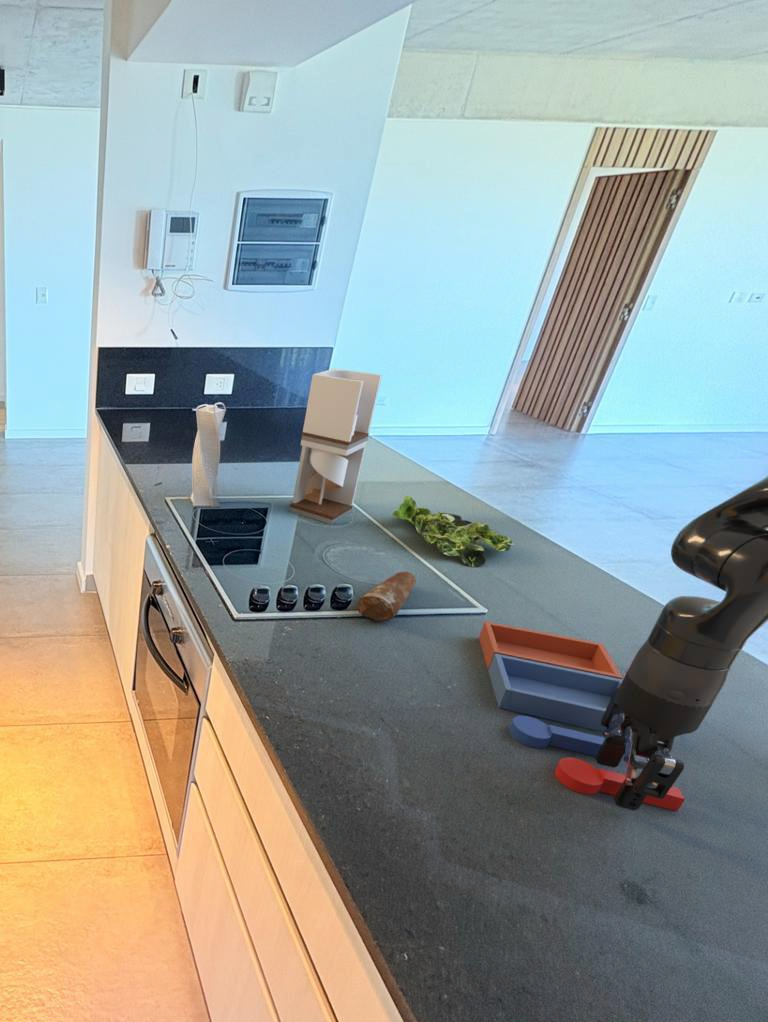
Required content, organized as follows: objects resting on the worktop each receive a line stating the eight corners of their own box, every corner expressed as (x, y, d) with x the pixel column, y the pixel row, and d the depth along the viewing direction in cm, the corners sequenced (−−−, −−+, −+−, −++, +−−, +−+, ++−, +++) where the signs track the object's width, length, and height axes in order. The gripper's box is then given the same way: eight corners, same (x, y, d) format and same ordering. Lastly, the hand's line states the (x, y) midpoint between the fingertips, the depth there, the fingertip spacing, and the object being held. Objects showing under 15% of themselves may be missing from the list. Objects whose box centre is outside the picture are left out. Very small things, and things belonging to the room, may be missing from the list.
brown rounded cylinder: (352, 617, 116) (358, 592, 113) (391, 581, 127) (398, 557, 125) (387, 631, 111) (394, 605, 109) (424, 592, 123) (432, 568, 120)
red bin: (594, 661, 103) (602, 643, 101) (613, 696, 95) (623, 678, 94) (478, 637, 109) (484, 621, 108) (487, 669, 101) (494, 651, 100)
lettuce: (461, 570, 130) (475, 540, 127) (368, 519, 150) (379, 492, 147) (517, 564, 136) (532, 536, 133) (421, 517, 157) (432, 491, 154)
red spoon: (667, 792, 79) (674, 780, 78) (682, 820, 75) (690, 807, 74) (550, 762, 84) (556, 750, 83) (559, 787, 80) (565, 775, 79)
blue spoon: (610, 746, 86) (616, 734, 85) (621, 769, 82) (628, 757, 81) (506, 721, 91) (510, 709, 90) (512, 742, 87) (517, 730, 86)
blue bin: (614, 698, 95) (623, 679, 93) (637, 740, 87) (647, 720, 85) (487, 670, 101) (494, 653, 99) (498, 707, 93) (506, 689, 92)
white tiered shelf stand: (288, 510, 160) (312, 374, 144) (309, 500, 166) (334, 368, 150) (331, 524, 152) (361, 381, 137) (351, 512, 158) (382, 374, 143)
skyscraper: (221, 509, 161) (234, 403, 149) (190, 509, 162) (200, 404, 149) (214, 497, 169) (225, 395, 156) (184, 497, 169) (193, 395, 157)
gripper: (745, 732, 64) (675, 839, 72) (686, 655, 76) (631, 754, 83) (653, 712, 67) (595, 817, 75) (610, 641, 79) (563, 738, 86)
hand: (614, 783), depth 79 cm, fingers open, 7 cm apart
